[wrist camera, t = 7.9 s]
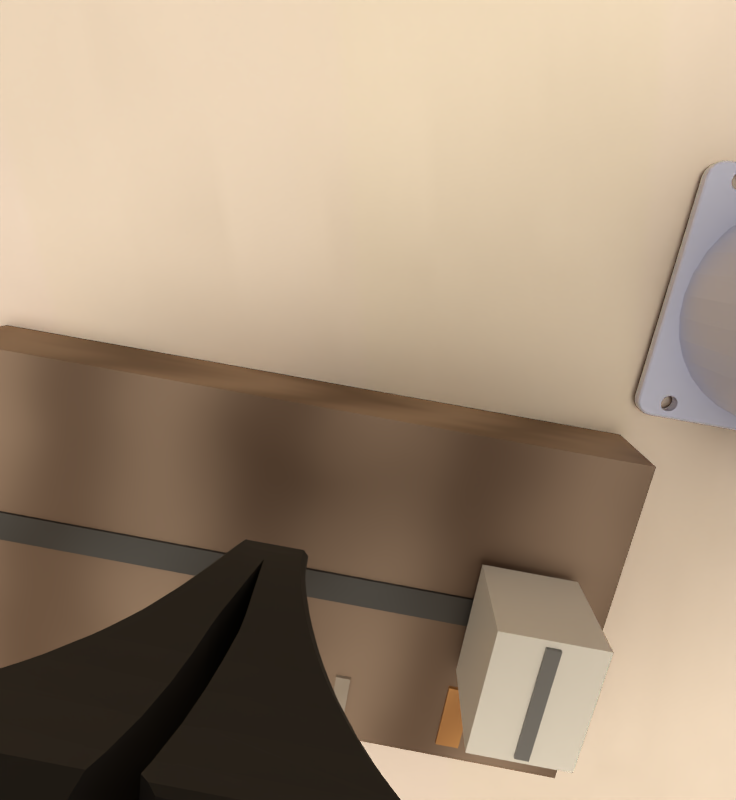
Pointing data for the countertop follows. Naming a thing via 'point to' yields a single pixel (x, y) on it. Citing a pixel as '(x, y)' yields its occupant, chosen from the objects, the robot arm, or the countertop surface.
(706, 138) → the countertop surface
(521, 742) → the fader tab
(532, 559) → the fader console
